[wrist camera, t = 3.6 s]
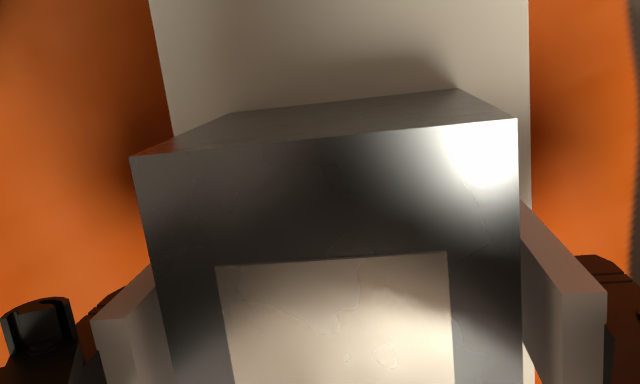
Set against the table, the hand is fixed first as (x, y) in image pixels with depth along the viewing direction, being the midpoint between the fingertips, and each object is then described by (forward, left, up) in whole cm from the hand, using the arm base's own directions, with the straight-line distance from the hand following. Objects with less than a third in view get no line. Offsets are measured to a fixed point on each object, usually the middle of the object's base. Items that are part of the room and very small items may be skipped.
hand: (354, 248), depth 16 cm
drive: (0, 0, -1) cm, 1 cm away
